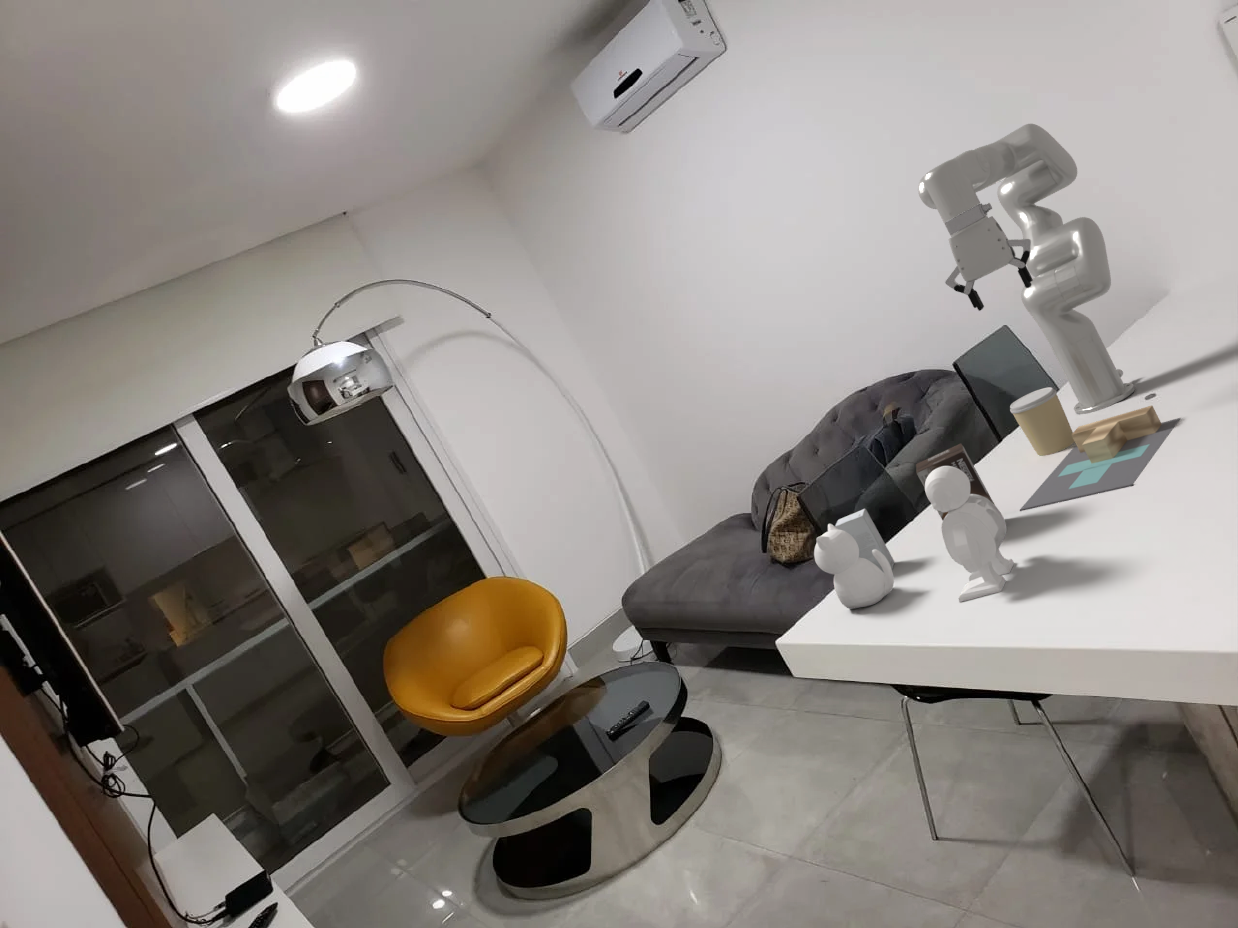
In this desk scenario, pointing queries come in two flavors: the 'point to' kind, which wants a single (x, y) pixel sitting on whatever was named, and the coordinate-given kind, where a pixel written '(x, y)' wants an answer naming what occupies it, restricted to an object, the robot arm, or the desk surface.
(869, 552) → the skincare box
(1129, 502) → the desk surface
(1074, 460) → the rubber mat
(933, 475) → the white humanoid figurine
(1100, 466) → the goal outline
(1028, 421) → the coffee cup
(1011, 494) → the desk surface
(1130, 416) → the pine T block
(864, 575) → the cat figurine
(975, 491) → the coffee box
